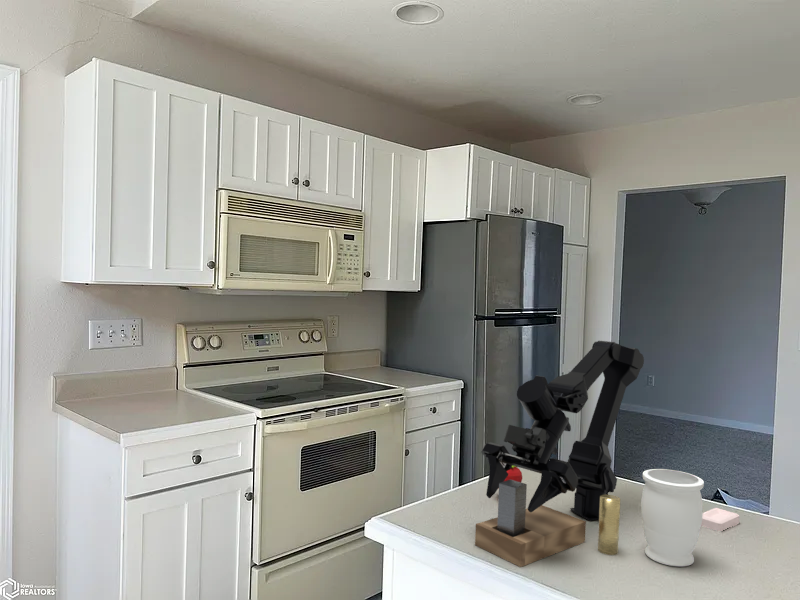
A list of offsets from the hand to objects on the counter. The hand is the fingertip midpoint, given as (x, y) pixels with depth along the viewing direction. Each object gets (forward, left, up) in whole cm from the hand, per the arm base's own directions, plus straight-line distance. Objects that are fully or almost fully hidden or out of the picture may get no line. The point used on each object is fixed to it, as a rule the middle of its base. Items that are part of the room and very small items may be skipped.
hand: (507, 503), depth 112 cm
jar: (-28, +12, -9) cm, 32 cm away
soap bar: (-52, +2, -10) cm, 53 cm away
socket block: (-7, -2, -9) cm, 12 cm away
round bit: (-19, +6, -9) cm, 22 cm away
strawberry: (-17, -24, -9) cm, 31 cm away
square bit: (-1, 0, -9) cm, 9 cm away
